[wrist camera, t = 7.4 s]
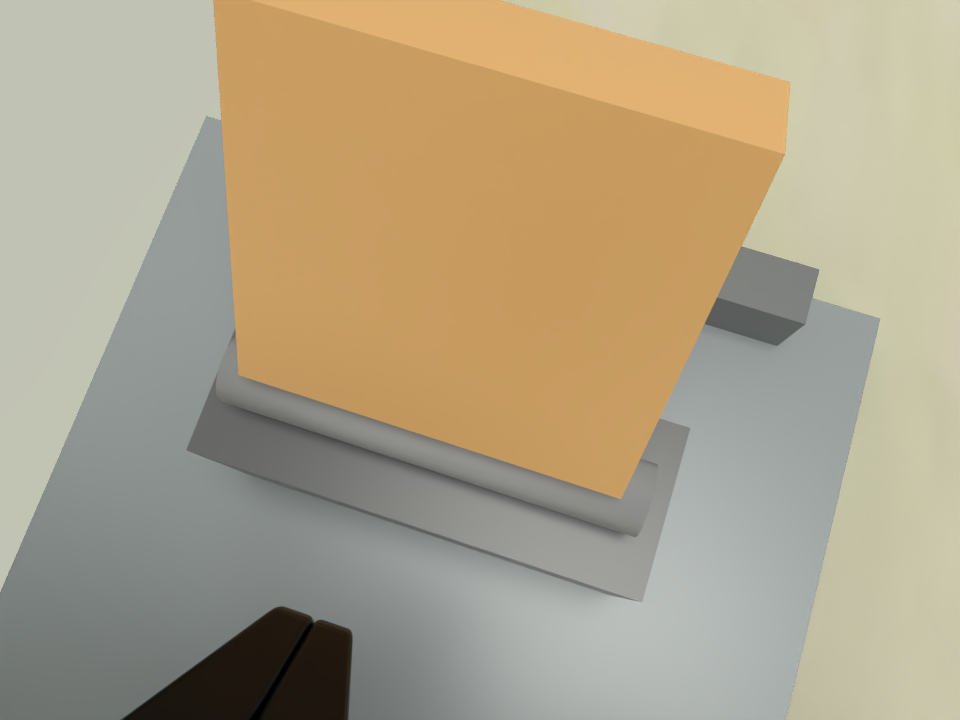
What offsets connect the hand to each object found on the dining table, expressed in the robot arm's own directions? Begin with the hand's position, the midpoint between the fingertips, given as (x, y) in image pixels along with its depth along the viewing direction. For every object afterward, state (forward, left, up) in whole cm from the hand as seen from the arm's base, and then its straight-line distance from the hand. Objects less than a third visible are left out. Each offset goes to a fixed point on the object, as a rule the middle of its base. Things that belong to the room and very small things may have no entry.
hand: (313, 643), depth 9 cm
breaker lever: (+2, -2, -5) cm, 5 cm away
